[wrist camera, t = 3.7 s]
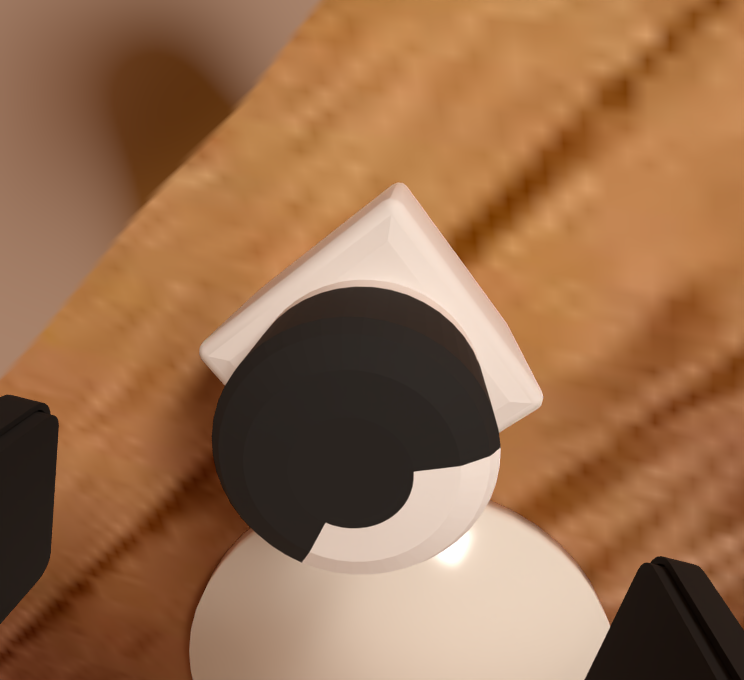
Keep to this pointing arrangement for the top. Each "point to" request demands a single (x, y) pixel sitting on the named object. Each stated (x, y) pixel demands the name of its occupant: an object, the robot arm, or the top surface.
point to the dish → (403, 613)
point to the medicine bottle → (366, 396)
